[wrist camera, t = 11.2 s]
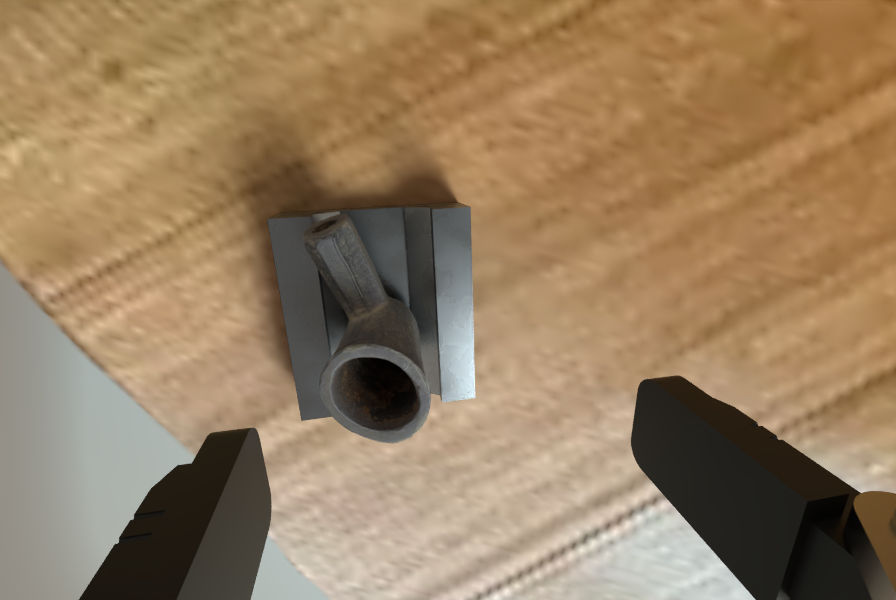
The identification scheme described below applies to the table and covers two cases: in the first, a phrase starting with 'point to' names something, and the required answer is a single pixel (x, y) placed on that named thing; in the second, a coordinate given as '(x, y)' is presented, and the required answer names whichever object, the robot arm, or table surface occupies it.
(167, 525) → the robot arm
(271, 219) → the v block
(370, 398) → the pipe
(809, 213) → the table surface
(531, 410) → the table surface
